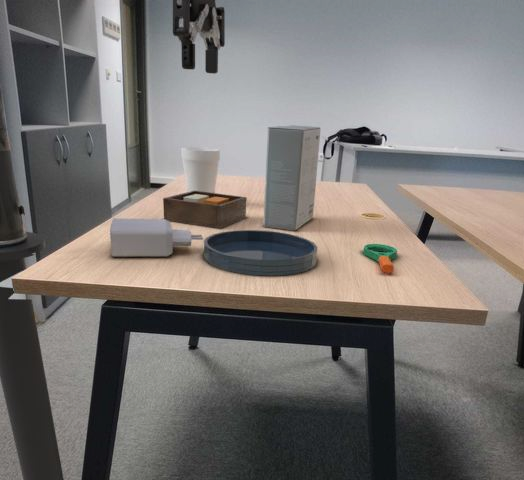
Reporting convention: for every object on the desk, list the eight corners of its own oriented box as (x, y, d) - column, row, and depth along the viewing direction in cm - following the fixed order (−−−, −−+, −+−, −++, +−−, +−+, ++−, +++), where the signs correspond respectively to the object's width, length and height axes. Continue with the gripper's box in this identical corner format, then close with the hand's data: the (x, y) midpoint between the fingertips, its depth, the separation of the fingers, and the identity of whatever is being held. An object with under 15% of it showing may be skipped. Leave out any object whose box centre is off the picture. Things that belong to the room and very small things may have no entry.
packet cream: (183, 215, 105) (183, 197, 103) (195, 211, 110) (195, 193, 108) (197, 217, 104) (197, 199, 102) (209, 213, 108) (209, 195, 107)
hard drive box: (282, 214, 115) (289, 124, 106) (313, 218, 113) (322, 127, 104) (261, 227, 102) (267, 125, 93) (295, 231, 100) (304, 128, 91)
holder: (163, 220, 103) (162, 198, 100) (194, 210, 114) (194, 190, 112) (219, 228, 98) (220, 206, 96) (245, 217, 110) (246, 197, 108)
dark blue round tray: (182, 262, 76) (182, 247, 75) (232, 238, 92) (233, 225, 91) (295, 283, 70) (297, 267, 69) (328, 253, 86) (329, 239, 85)
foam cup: (186, 198, 127) (185, 146, 121) (220, 201, 127) (221, 148, 121) (179, 205, 118) (178, 149, 112) (216, 207, 118) (216, 151, 112)
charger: (205, 258, 79) (111, 258, 76) (199, 244, 87) (115, 243, 84) (205, 230, 77) (109, 229, 74) (199, 217, 85) (112, 216, 82)
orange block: (203, 218, 103) (203, 199, 102) (214, 214, 108) (215, 196, 106) (217, 220, 102) (218, 201, 101) (228, 216, 107) (229, 198, 105)
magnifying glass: (361, 248, 91) (363, 240, 90) (393, 251, 90) (395, 242, 89) (368, 272, 77) (369, 262, 76) (405, 276, 77) (407, 266, 76)
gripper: (200, -32, 83) (200, 74, 91) (155, -58, 72) (160, 66, 79) (239, -33, 81) (236, 75, 89) (199, -60, 69) (200, 68, 77)
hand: (200, 71), depth 84 cm, fingers open, 8 cm apart
